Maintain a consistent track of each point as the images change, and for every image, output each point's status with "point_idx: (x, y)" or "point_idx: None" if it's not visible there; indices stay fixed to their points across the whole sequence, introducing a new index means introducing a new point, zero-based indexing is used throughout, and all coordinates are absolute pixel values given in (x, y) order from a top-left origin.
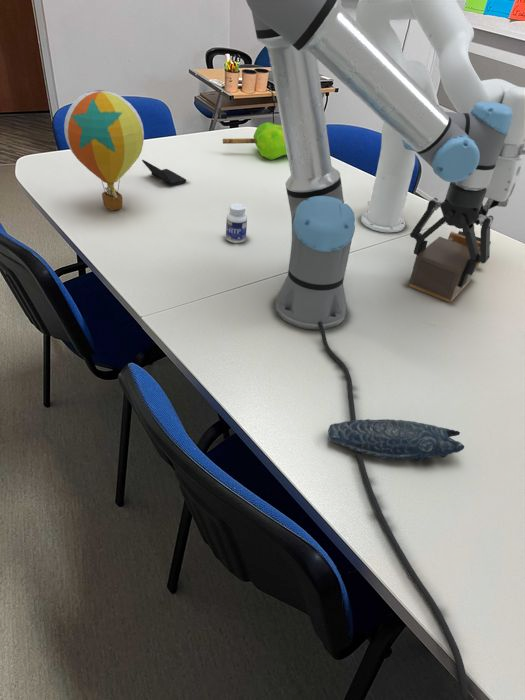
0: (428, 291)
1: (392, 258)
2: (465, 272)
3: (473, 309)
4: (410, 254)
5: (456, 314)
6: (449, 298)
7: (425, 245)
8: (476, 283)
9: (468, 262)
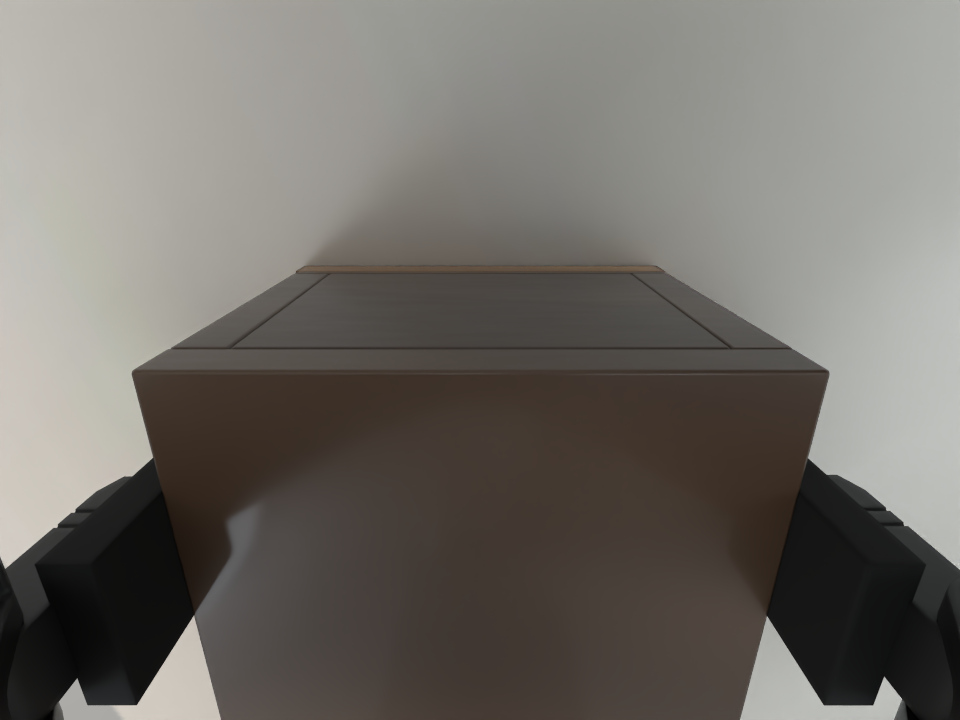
0: (487, 270)
1: None
2: None
3: (144, 310)
4: (769, 645)
5: (183, 141)
6: (308, 274)
7: (805, 623)
8: None
9: (70, 558)
